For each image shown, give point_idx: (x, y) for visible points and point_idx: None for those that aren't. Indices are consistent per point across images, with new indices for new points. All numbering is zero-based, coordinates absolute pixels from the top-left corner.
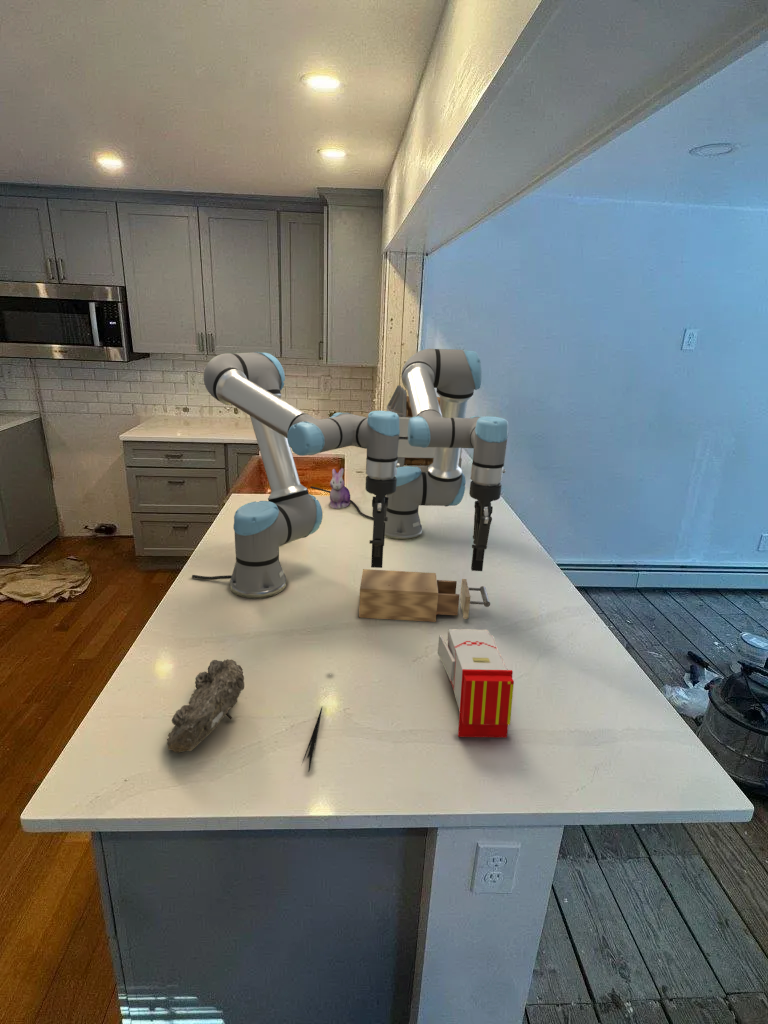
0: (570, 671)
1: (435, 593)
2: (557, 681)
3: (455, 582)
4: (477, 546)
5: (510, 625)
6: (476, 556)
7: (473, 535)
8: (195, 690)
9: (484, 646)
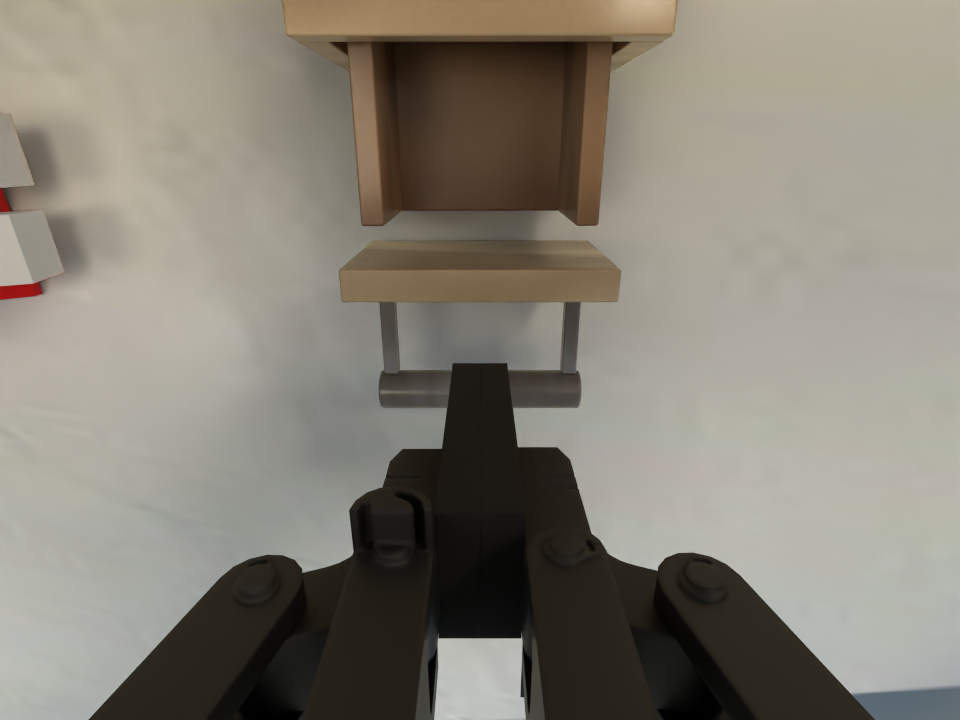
0: (105, 591)
1: (286, 10)
2: (23, 541)
3: (576, 215)
4: (202, 605)
5: (386, 453)
6: (402, 476)
7: (711, 601)
8: None
9: None
